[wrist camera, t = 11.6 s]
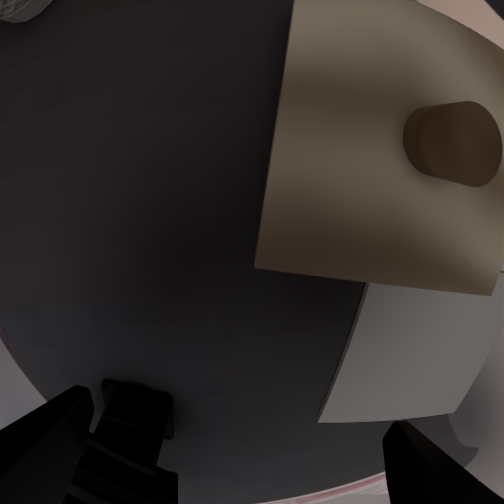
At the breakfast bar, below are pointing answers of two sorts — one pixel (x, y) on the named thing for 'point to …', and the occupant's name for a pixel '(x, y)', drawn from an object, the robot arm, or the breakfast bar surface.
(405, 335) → the mat
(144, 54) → the breakfast bar surface
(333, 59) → the lid
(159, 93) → the breakfast bar surface
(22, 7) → the white cup
